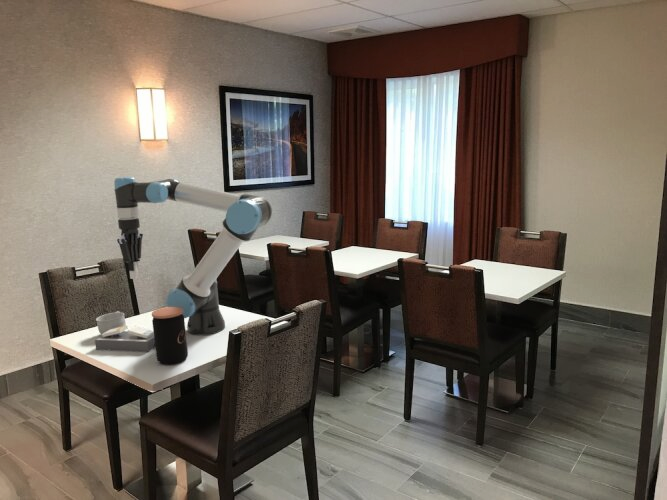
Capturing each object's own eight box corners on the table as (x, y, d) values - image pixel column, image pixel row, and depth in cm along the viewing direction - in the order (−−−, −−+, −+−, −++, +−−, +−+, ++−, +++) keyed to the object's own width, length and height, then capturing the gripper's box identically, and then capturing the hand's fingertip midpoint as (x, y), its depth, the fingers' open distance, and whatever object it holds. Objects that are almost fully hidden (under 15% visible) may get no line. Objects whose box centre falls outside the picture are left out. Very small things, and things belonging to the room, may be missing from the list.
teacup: (116, 339, 216) (114, 320, 215) (92, 338, 219) (90, 319, 217) (136, 327, 230) (133, 309, 228) (113, 327, 232) (110, 309, 230)
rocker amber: (128, 328, 210) (126, 324, 210) (120, 332, 205) (119, 329, 205) (110, 332, 212) (109, 329, 212) (102, 337, 207) (101, 333, 207)
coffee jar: (185, 364, 188) (180, 314, 185) (153, 367, 187) (147, 317, 184) (190, 352, 199) (185, 305, 195) (161, 355, 198) (155, 307, 194)
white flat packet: (153, 333, 208) (154, 330, 208) (146, 338, 203) (147, 335, 203) (134, 328, 209) (135, 325, 209) (127, 333, 205) (127, 329, 204)
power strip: (171, 342, 210) (170, 330, 209) (158, 352, 201) (157, 339, 200) (111, 340, 216) (110, 328, 215) (96, 349, 206) (94, 337, 205)
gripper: (130, 215, 214) (136, 273, 218) (108, 220, 201) (115, 282, 206) (147, 215, 212) (152, 274, 216) (126, 220, 199) (132, 283, 204)
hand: (134, 278), depth 211 cm, fingers closed
